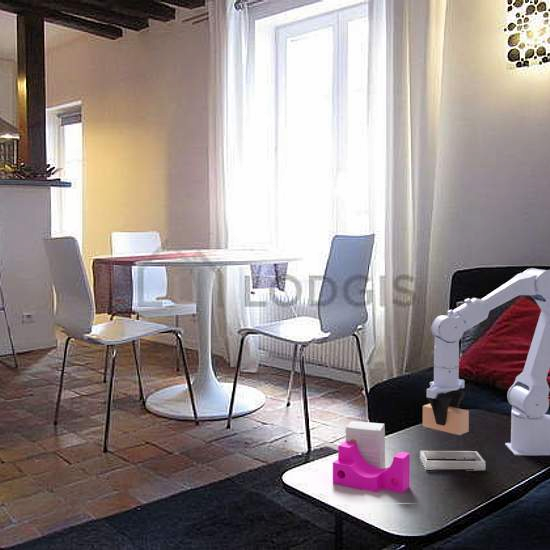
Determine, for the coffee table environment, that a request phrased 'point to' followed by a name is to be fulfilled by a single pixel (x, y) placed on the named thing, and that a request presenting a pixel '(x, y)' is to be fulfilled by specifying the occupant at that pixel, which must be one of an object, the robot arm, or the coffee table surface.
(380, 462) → the small box
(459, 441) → the coffee table surface
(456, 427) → the peach rectangular prism
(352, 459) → the toy block
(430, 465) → the gray rectangular tray
